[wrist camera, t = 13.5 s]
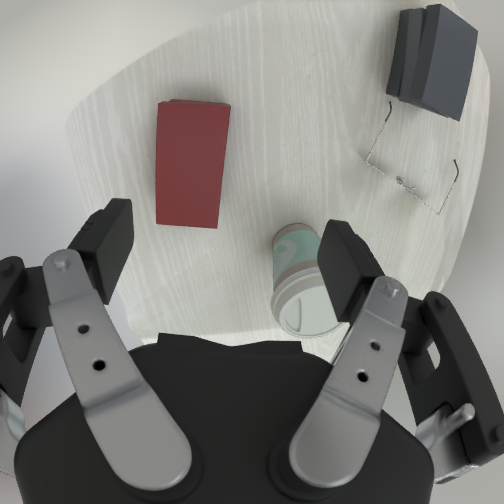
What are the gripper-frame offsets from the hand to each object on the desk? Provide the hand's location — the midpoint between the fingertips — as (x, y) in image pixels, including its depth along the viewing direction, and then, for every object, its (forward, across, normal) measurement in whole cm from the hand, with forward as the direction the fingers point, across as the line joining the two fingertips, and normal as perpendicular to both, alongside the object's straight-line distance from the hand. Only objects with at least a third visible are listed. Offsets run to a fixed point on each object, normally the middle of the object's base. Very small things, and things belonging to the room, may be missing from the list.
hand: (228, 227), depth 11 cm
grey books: (+20, -18, -13) cm, 30 cm away
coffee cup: (+20, -10, +13) cm, 26 cm away
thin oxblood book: (+16, +3, +3) cm, 17 cm away
